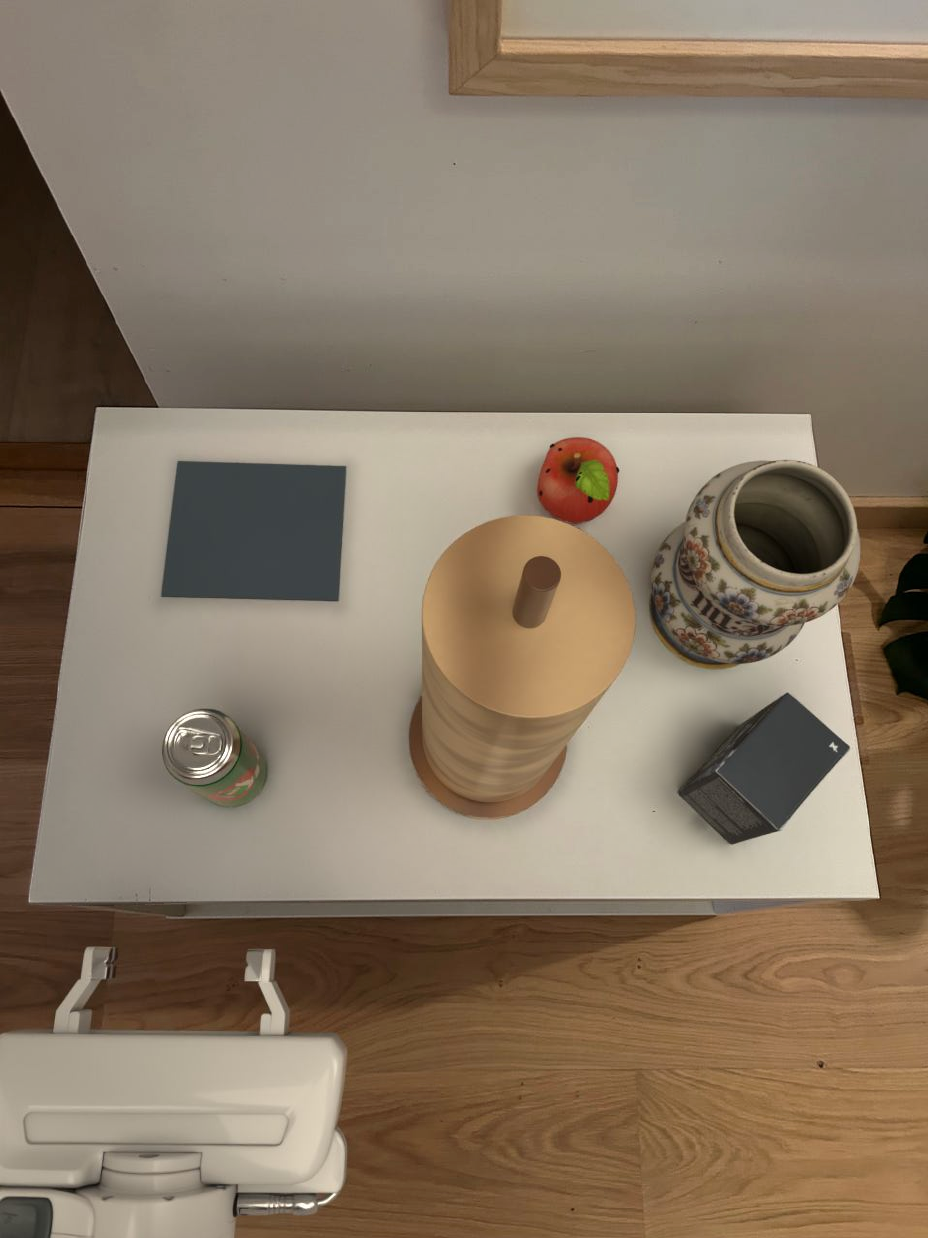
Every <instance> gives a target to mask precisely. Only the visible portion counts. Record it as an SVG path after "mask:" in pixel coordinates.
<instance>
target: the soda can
mask: <svg viewBox="0 0 928 1238" xmlns="http://www.w3.org/2000/svg"><path fill="white" fill-rule="evenodd" d="M161 755H162V756H161V758H162V761H163V764H164V766H165V769H166V770H167V771H168V773H169V774H170V775H171V777H173V779H175V780H176V781H178V783H181V784H182V785H184V786H185V787H187V788H189V789H190V790H192V791H194V792H195V793H197V794H198V795H200V796H201V797H203V798H204V799H207V800H208V801H209V802H211V803H212V804H214V805H217V806H219V807H222V808H230V809H231V808H238V807H242V806H245V805H248V804H249V803H250V802H252V801H253V800H254V799H255V798H256V797H257V796H259V794H261V792H262V790H263V788H264V787H265V784H266V782H267V776H268V766H267V761H266V759H265V756H264V754H263V752H261V750H260V749H259V748H258V747H257V746H256V744H254V742H253V741H252V740H251V739H250V737H248V735H247V734H246V733H245V732H244V731H243V730H242V729H241V728H240V727H239V726H238V724H237V723H236V722H235V721H234V720H233V719H232V718H231V717H230V716H229V715H227V714H226V713H225V712H222V711H221V710H218V709H214V708H196V709H192V710H190V711H187V712H185V713H182V715H180V716H179V717H177V718H176V719H175V720H174V721H173V722H172V723H171V725H170V726H169V727H168V729H167V730H166V733H165V734H164V737H163V740H162V745H161Z"/></svg>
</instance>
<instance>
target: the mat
mask: <svg viewBox="0 0 928 1238" xmlns="http://www.w3.org/2000/svg"><path fill="white" fill-rule="evenodd" d="M175 473H176V474H175V480H174V487H173V495H172V497H173V498H172V505H171V511H170V512H171V513H170V520H169V530H168V536H167V538H168V539H167V544H166V545H167V546H166V552H165V554H166V555H165V560H164V570H163V576H162V577H163V578H162V586H161V592H160V593H161V594H160V597H161V598H192V599H193V598H196V599H233V600H234V599H235V600H236V599H237V600H274V601H275V600H276V601H313V602H314V601H315V602H316V601H318V602H339V596H340V582H341V581H340V579H341V562H342V561H341V560H342V546H343V545H342V544H343V531H344V530H343V529H344V527H343V526H344V511H345V496H346V495H345V494H346V476H347V466H346V465H321V464H319V465H318V464H292V463H290V464H287V463H286V464H285V463H260V462H259V463H256V462H254V463H253V462H225V461H224V462H222V461H221V462H220V461H190V460H189V461H188V460H177V463H176V472H175Z"/></svg>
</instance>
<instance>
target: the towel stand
mask: <svg viewBox="0 0 928 1238" xmlns="http://www.w3.org/2000/svg"><path fill="white" fill-rule="evenodd" d="M426 581H427V582H426V584H425V588H424V591H423V595H422V602H421V603H422V605H421V695H420V696H419V697H420V698H419V699H418V701H417V703H416V704H415V707H414V710H413V713H412V715H411V718H410V722H409V723H410V724H409V731H408V746H409V747H408V749H409V754H410V755H409V756H410V759H411V763H412V766H413V769H414V771H415V773H416V776H417V777H418V779H419V781H420V783H421V784H422V787H424V789H425V790H426V791H427V792H428V794H429V795H430V796H431V797H433V799H435V800H436V801H437V802H438V803H440V804H441V805H442V806H443V807H445V808H446V809H448V810H451V811H452V812H454V813H456V814H459V815H462V816H463V817H467V818H471V819H478V820H499V819H504V818H509V817H511V816H515V815H518V814H520V813H522V812H524V811H526V810H529V808H531V807H533V806H534V805H536V804H537V803H538V802H539V801H540V800H541V799H542V798H544V797H545V796H546V795H547V793H548V792H549V791H550V790H551V789H552V787H553V785H555V783H556V781H557V780H558V778H559V776H560V774H561V772H562V770H563V767H564V765H565V761H566V755H567V752H568V751H567V750H568V744H569V742H570V741H571V740H572V738H573V737H574V736H575V734H576V733H577V732H578V730H579V729H580V727H581V726H582V725H583V724H584V722H585V721H586V719H587V718H588V717H589V715H590V714H591V713H592V711H593V710H594V709H595V707H596V706H597V705H598V704H599V702H600V701H601V699H602V698H603V697H604V695H605V694H606V692H607V691H608V690H609V689H610V687H611V686H612V684H613V683H614V682H615V680H617V677H619V675H620V673H621V672H622V670H623V669H624V668H625V665H626V662H627V661H628V659H629V657H630V654H631V650H632V648H633V645H634V641H635V633H636V621H637V620H636V616H637V615H636V608H635V601H634V596H633V593H632V589H631V587H630V584H629V582H628V579H627V576H626V575H625V574H624V572H623V570H622V568H621V566H620V565H619V564H618V562H617V561H616V559H615V558H614V556H613V555H612V554H611V553H610V552H609V551H608V550H607V548H605V547H604V546H603V545H602V544H601V543H600V542H599V541H598V540H596V539H595V538H594V537H592V536H591V534H590V535H589V534H588V533H587V532H585V531H583V530H582V529H580V528H578V527H576V526H574V525H571V523H568V522H565V521H562V520H560V519H557V518H551V517H546V516H541V515H529V514H524V515H523V514H522V515H521V514H520V515H511V516H504V517H499V518H495V519H491V520H489V521H486V522H484V523H481V524H479V525H477V526H475V527H473V528H471V529H469V530H468V531H466V532H464V533H463V534H462V535H460V536H458V538H457V539H455V540H454V541H453V542H452V543H451V544H450V545H449V546H448V547H447V548H446V549H445V550H444V551H443V553H442V554H441V555H440V557H439V558H438V559H437V560H436V561H435V564H434V566H433V567H432V570H431V571H430V574H429V576H428V579H427V580H426Z"/></svg>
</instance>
